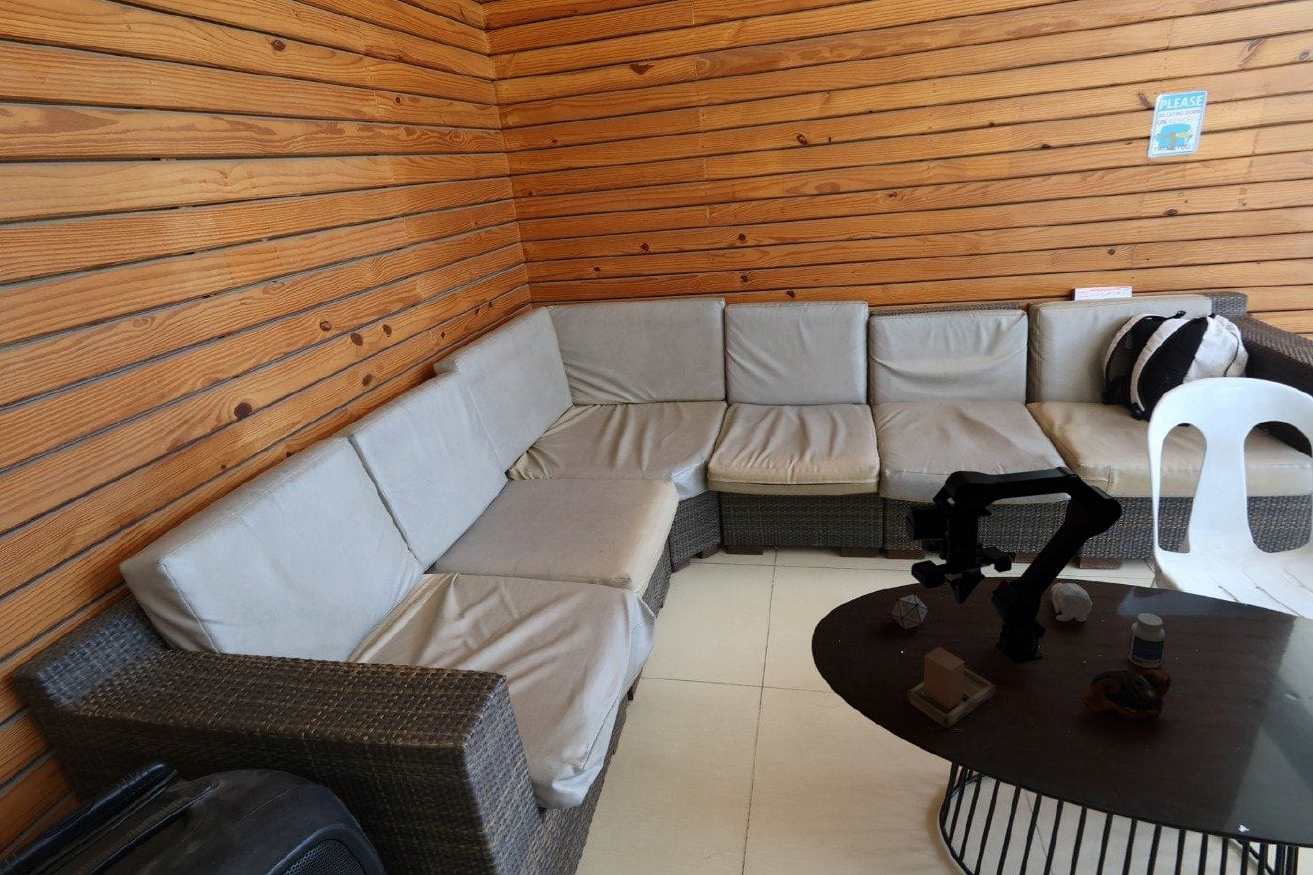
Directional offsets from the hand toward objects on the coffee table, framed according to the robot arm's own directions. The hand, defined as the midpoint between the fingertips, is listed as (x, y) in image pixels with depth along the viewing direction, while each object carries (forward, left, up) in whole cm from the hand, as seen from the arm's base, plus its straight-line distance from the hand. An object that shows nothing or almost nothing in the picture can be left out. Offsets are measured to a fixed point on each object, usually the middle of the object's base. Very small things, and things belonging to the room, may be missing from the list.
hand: (959, 602), depth 137 cm
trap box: (+8, +10, -13) cm, 19 cm away
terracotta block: (+11, +11, -11) cm, 19 cm away
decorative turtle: (-18, +23, -13) cm, 32 cm away
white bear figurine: (-30, -5, -13) cm, 33 cm away
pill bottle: (-32, +13, -13) cm, 37 cm away
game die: (+4, -12, -13) cm, 18 cm away
